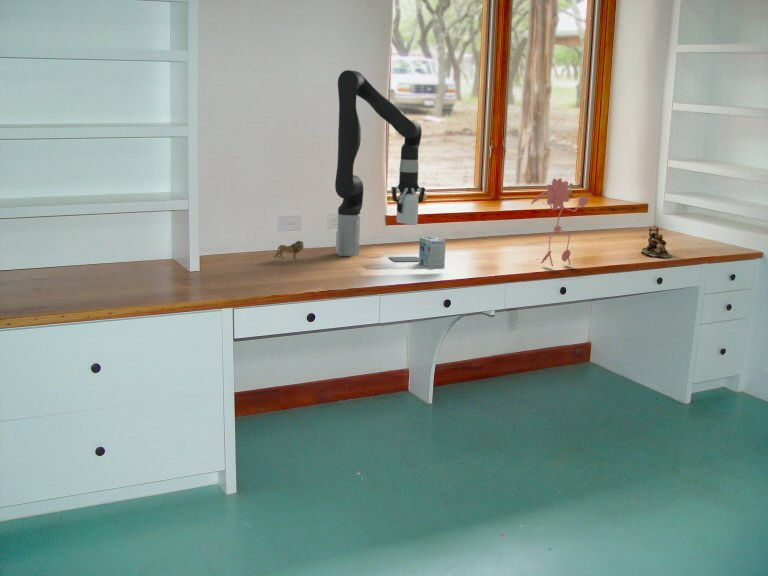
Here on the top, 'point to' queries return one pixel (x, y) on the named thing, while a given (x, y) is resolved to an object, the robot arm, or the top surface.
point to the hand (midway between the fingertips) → (407, 212)
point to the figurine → (557, 197)
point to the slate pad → (404, 259)
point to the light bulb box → (432, 252)
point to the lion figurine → (290, 249)
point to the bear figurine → (656, 245)
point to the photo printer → (408, 210)
